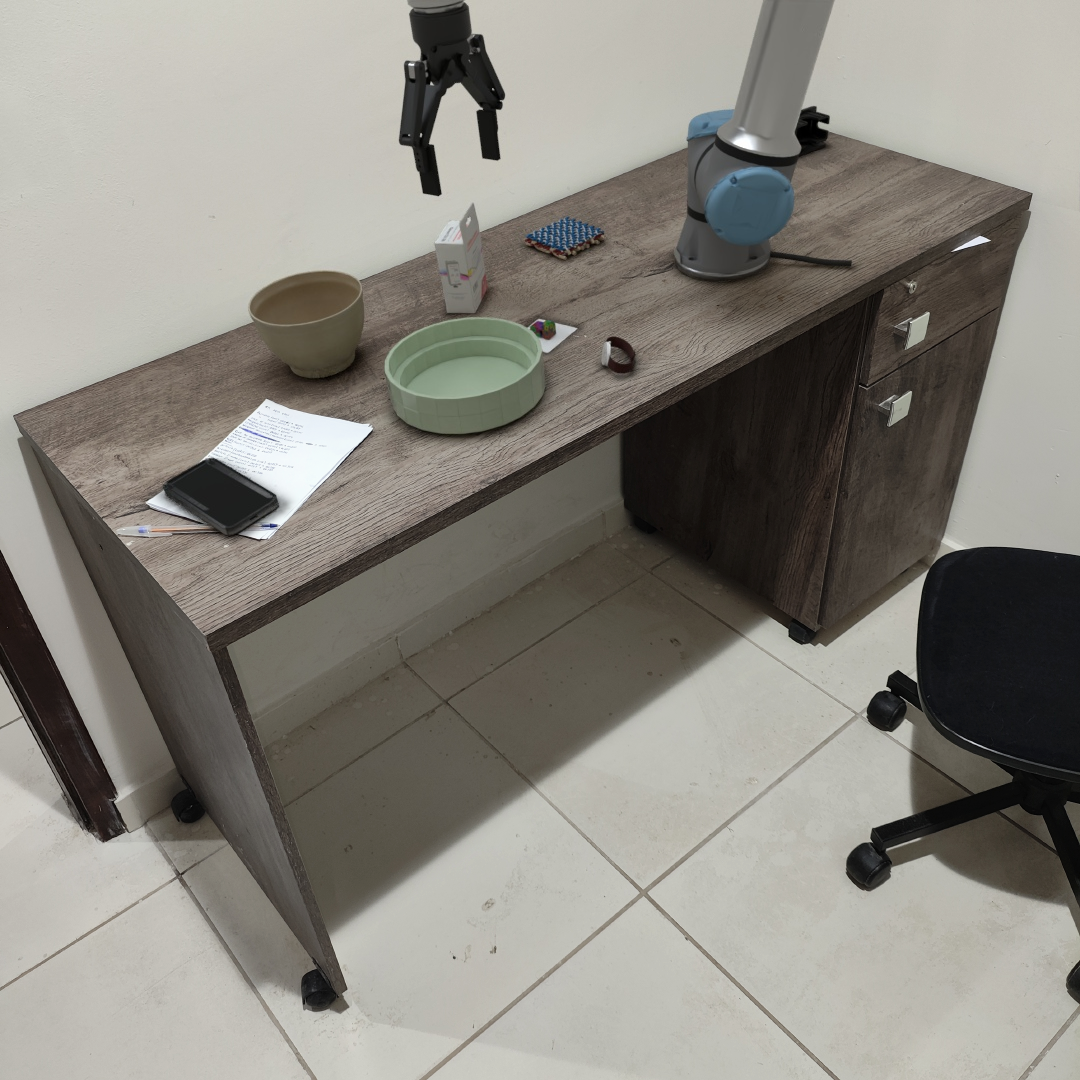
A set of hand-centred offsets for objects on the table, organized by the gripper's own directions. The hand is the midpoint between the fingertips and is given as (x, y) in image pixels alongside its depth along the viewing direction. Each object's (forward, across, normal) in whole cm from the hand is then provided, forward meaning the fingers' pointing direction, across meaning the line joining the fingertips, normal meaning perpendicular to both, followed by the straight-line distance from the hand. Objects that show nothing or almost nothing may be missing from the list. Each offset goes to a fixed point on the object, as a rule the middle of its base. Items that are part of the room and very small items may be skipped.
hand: (462, 176), depth 134 cm
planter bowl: (+23, +20, -15) cm, 34 cm away
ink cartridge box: (+23, -5, -7) cm, 24 cm away
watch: (+23, +1, +25) cm, 34 cm away
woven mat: (+23, -29, -4) cm, 37 cm away
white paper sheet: (+23, -1, +10) cm, 25 cm away
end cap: (+23, -85, +15) cm, 89 cm away
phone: (+23, +51, -4) cm, 56 cm away
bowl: (+23, +17, +10) cm, 30 cm away
